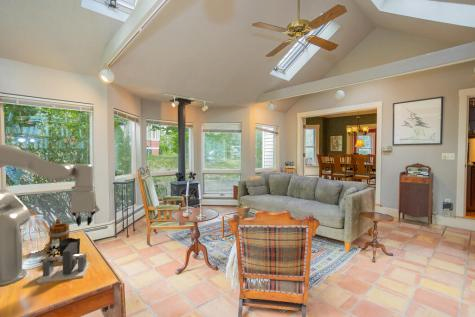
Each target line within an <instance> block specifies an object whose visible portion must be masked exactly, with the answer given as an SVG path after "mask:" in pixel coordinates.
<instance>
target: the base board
mask: <svg viewBox="0 0 475 317" xmlns="http://www.w3.org/2000/svg"><path fill="white" fill-rule="evenodd" d="M90 265H91V261H89V262H88V261H87V262H86V268H85V269H84V271H81V272H78V263H77V264H76V266H75V267H74V269H73V270H72V272H71V273H70V274H65V275H63V265H57V266H53V271H52V273H51V274H50V275H49V276H43V274H42V275H41V276H40V277H39V278H38V279H37V281H36V284H43V283H44V284H45V283H51V282H58V281H64V280H72V279H79V278H84V277H85V274H86V272H87V271H88V269H89V267H90Z"/></svg>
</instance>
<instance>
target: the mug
mask: <svg viewBox="0 0 475 317" xmlns="http://www.w3.org/2000/svg"><path fill="white" fill-rule="evenodd" d="M70 233H71V232H70V223H66V222H65V223H61V221H60V218H56V219H55V224H52V225H50V226H49V232H48V236H49V241H48V246H47V247H48V248H51V244H52V240H53V239H59V242H60V241H61V240H63V239H66V238H70Z"/></svg>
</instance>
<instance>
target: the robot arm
mask: <svg viewBox="0 0 475 317" xmlns="http://www.w3.org/2000/svg"><path fill="white" fill-rule="evenodd" d="M6 166H8V167H12V168H15V169H19V170H24V171H27V172H29V173H31V174H34V175H35V176H37V177H42V178H45V179H49V180H54V181H65V180H69V179H72V178H74V186H71V190H73V192H72V194H71V195H72V196H71V202H70V208H69V209H68V211H67V213H68V214H70V215H72V216H73V217H75V221H76V223H75V224H76V225H77V227H79V226H81V225H82V216H81V213H87V215H88V216H87V218H86V220H87V221H86V222H87V224H86V225H87V226H90V224H91V223H92V222H93V221H92V220H93V219H92V217H93V216H94V215H95V214H97V213H98V212H99V211H100V208H99V206H98V205H97V198H96V191H95V190H94V171H93V170H94V167H93V165H92V164H91V163H69V162H67V163H62V164H61V163H55V162H52V161H49V160H46V159H43V158H41V157H40V156H39V154H37V153H35V152H32V151H27V150H24V149H21V147H19V146H17V145H15V144H0V168H1V169H2V168H4V167H6ZM30 219H31V212H30V209H28V207H27V206H26V205H25V203H23V202H22V200H20V198H19V197H18V196H17V195H16V194H15V193H13V192H12V191H10V190H8V189H0V286H5V285H9V284H13V283H15V282H18V281H20V280H21V279H24V278H25V277H26V276H27V274H28V272H27V271H28V270H26V269H23V240H22V239H23V238H22V234H21V231H20V228H21V227H22V226H23V225H25V224H26V223H28V222H29V221H30Z"/></svg>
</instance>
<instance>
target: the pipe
mask: <svg viewBox="0 0 475 317" xmlns="http://www.w3.org/2000/svg"><path fill="white" fill-rule="evenodd" d="M73 260H77V264H78V272H81V271H84V269H85V268H86V263H87V253H84V252H83V253H79V254H75V255H73ZM60 262H63V256H60V255H55V257H53V256H50V257H48V256H47V257H45V258H44V261H43V262H42V275H43V276H49V275H50V274H51V273H52V271H53V267H54V263H60Z"/></svg>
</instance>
